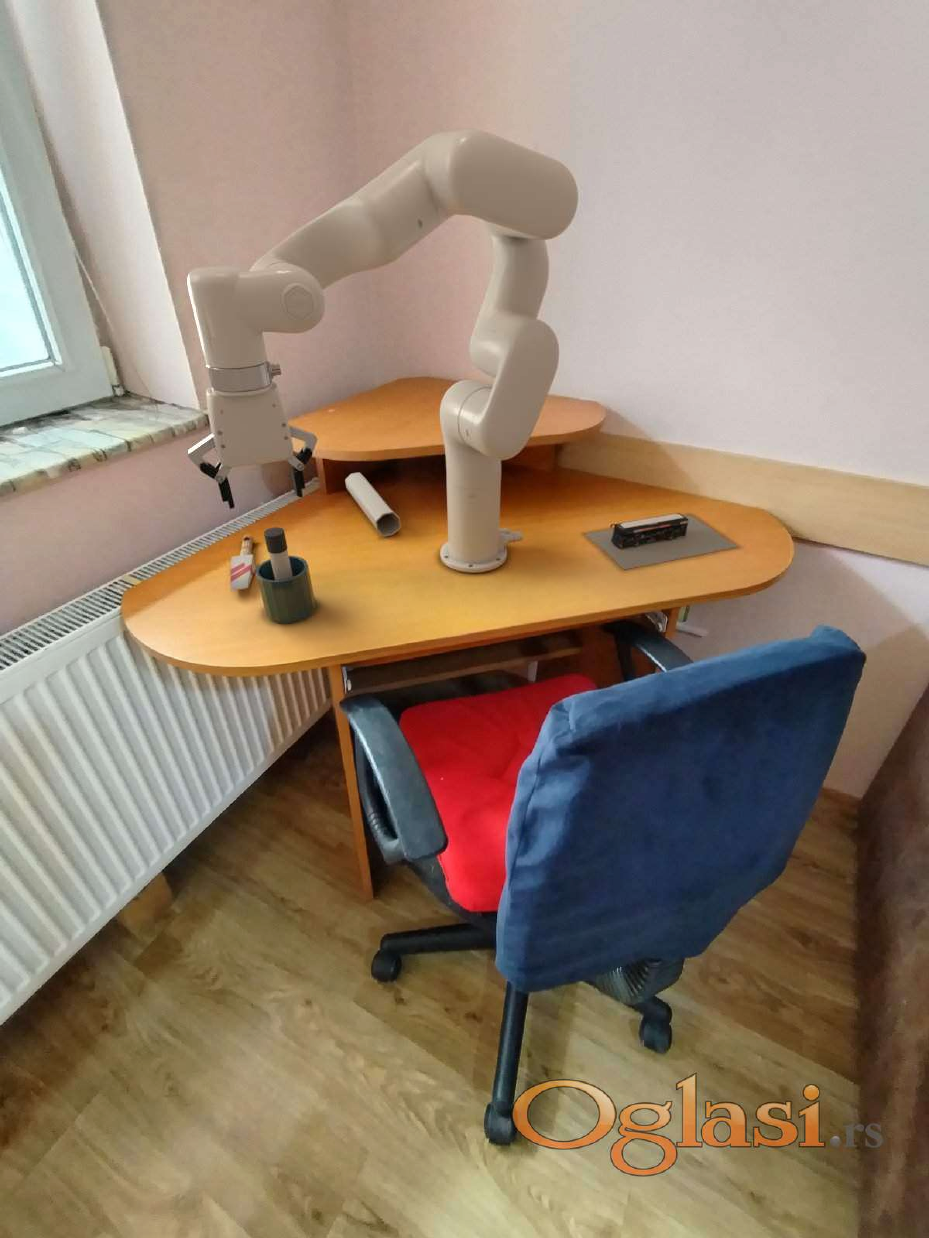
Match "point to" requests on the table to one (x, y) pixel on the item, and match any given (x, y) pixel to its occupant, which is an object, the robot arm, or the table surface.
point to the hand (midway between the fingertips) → (265, 499)
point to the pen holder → (286, 592)
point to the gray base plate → (658, 540)
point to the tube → (373, 505)
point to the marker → (278, 553)
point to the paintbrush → (243, 565)
